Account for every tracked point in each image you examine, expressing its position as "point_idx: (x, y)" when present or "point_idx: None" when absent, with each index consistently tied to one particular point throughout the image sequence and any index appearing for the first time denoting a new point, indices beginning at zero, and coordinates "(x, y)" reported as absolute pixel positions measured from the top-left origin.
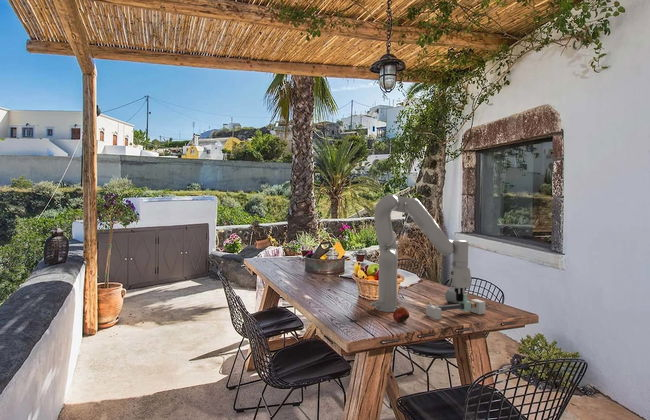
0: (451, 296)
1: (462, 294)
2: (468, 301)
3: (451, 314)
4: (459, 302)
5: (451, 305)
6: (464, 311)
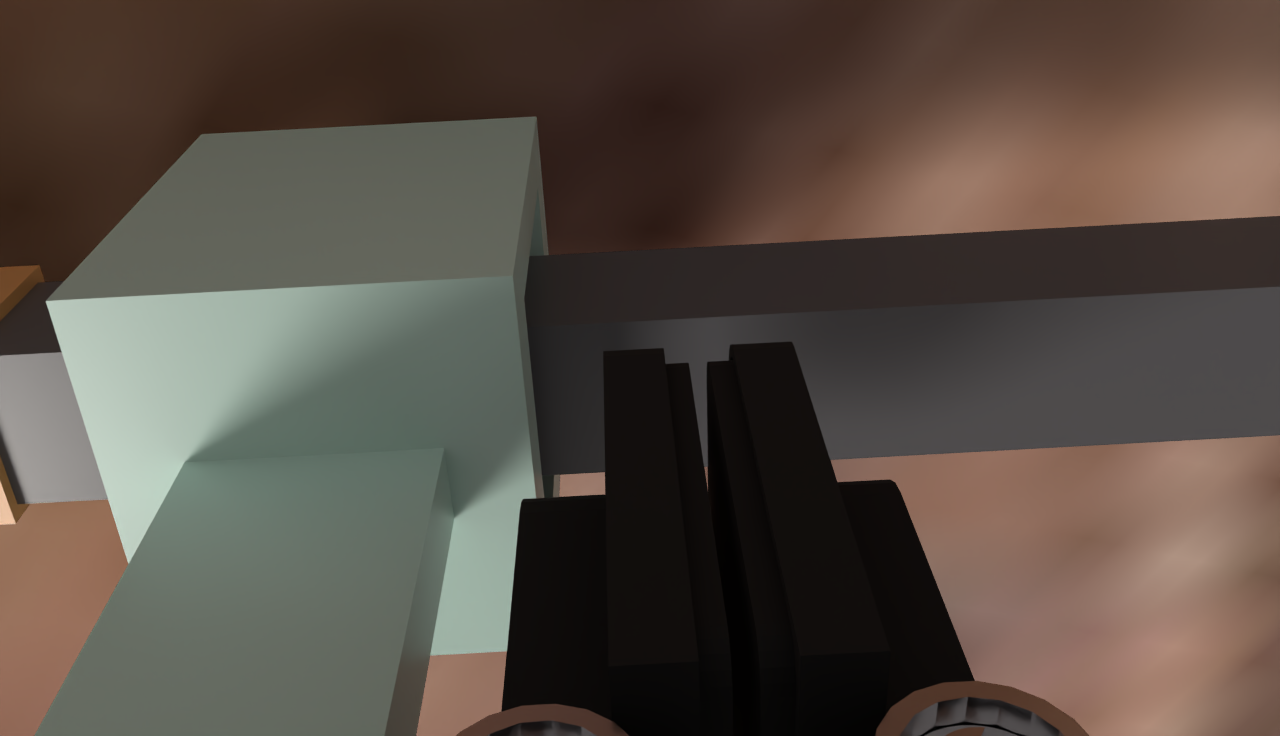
0: None
1: (672, 618)
2: (148, 425)
3: None
4: None
5: (1166, 344)
6: (536, 120)
